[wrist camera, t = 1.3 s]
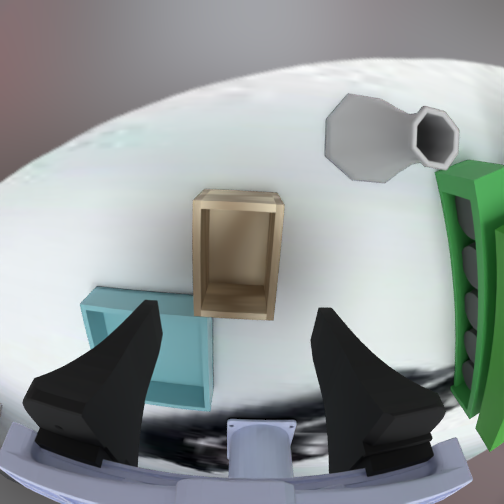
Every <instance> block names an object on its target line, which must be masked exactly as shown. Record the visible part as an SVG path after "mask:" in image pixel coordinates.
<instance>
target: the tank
mask: <svg viewBox="0 0 504 504" xmlns="http://www.w3.org/2000/svg"><path fill="white" fill-rule="evenodd" d="M435 175H436V180H437V184H438V189H439V193H440V198H441V203H442V208H443V213H444V218H445V224H446V230H447V236H448V243H449V250H450V258H451V266H452V276H453V287H454V302H455V335H456V342H455V374H454V385H452V386H451V392H452V393H453V395H454V396H455V398H456V399H457V401H458V402H459V404H460V405H461V407H462V408H463V410H464V411H465V413H466V414H467V416H468V418H469V419H471V418H472V417H474V416H475V415H477V414H478V413H479V417H478V421H477V424H476V428H475V429H476V430H477V432H478V433H479V435H480V437H481V438H482V440H483V442H484V443H485V445H486V447H487V448H488V450H489V452H490V451H492V450H493V449H495V448H496V447H497V446H499V445H500V444H502V443H503V442H504V165H500V164H494V163H487V162H481V161H474V160H466V161H463V162H460V163H458V164H455V165H452V166H450V167H449V168H448V169H447V170H439V171H437V172H435Z"/></svg>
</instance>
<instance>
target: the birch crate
mask: <svg viewBox="0 0 504 504" xmlns="http://www.w3.org/2000/svg"><path fill="white" fill-rule="evenodd" d="M284 206H285V205H284V203H283V201H282V200H281V198H280V196H279V195H278V193H274V192H258V191H240V190H218V189H204V190H203V191H202V192H201V193H200V194H199V195H198V196H197V197H196V198H195V199H194V200H193V221H192V252H193V303H194V316H200V317H215V318H231V319H250V320H273V319H274V310H275V301H276V291H277V282H278V272H279V261H280V251H281V240H282V229H283V218H284Z"/></svg>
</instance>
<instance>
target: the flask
mask: <svg viewBox="0 0 504 504" xmlns="http://www.w3.org/2000/svg"><path fill="white" fill-rule="evenodd" d="M458 153H459V129H458V127H457V126H456V125H455V123H454V122H453V121H452V119H451V118H450V117H449V116H448V114H447V113H446V112H445V111H442V110H438V109H435V108H431V107H427V106H423V107H421V109H420V110H419V111H418V113H414V114H408V113H406V112H404V111H402V110H400V109H398V108H396V107H395V106H393V105H391V104H390V103H388V102H386V101H385V100H383V99H379V98H373V97H368V96H362V95H355V94H349V93H348V94H347V96H346V97H345V98H344V99H343V100H342V101H341V103H340V104H339V105H338V106H337V107H336V108H335V110H334V111H333V112H332V113H331V114H330V115H329V117H328V118H327V119H326V147H325V156H326V157H327V158H328V159H329V160H330V161H331V162H333V163H334V164H335V165H336V166H337V167H338V168H339V169H340V170H341V171H343V172H344V173H345V174H346V175H347V176H348V177H349V178H350V179H351V180H354V181H366V182H376V183H386V182H387V181H389V180H390V179H391V178H393V177H394V176H395V175H397V174H398V173H399V172H401V171H402V170H404V169H406V168H407V167H409V166H410V165H412V164H417V163H422V165H423V166H425V167H429V168H435V169H440V170H447V169H448V168H449V166H450V165H451V164H452V162H453V161H454V159H455V158H456V156H457V155H458Z"/></svg>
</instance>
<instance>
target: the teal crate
mask: <svg viewBox="0 0 504 504" xmlns="http://www.w3.org/2000/svg"><path fill="white" fill-rule="evenodd" d="M144 300H157V301H158V306H159V313H160V319H161V325H162V331H163V336H162V342H161V347H160V352H159V356H158V359H157V362H156V365H155V368H154V372H153V375H152V378H151V381H150V384H149V387H148V391H147V395H146V399H145V404H151V405H158V406H165V407H172V408H180V409H188V410H198V411H209V412H210V411H211V403H212V395H213V388H214V386H213V327H212V317H200V316H194V303H193V295H189V294H175V293H163V292H151V291H140V290H129V289H119V288H109V287H100V286H96V288H95V289H94V290H93V291H92V292H91V293H90V294H89V295H88V296H87V297H86V298H85V299H84V300H83V301H82V302H81V303H80V307H81V312H82V316H83V321H84V325H85V329H86V333H87V337H88V341H89V344H90V348H91V349H92V348H94V347H95V346H96V345H98V344H99V343H100V342H102V341H103V340H104V339H105V338H106V337H107V336H108V335H110V334H111V333H112V332H113V331H114V330H115V329H116V328H117V327H118V326H119V325H120V324H121V323H122V322H123V321H124V320H125V319H126V318H127V317H128V316H129V315H130V314H131V313H132V312H133V311H134V310H135V309H136V308H137V307H138V306H139V305H140V304H141V303H142V302H143V301H144Z"/></svg>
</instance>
